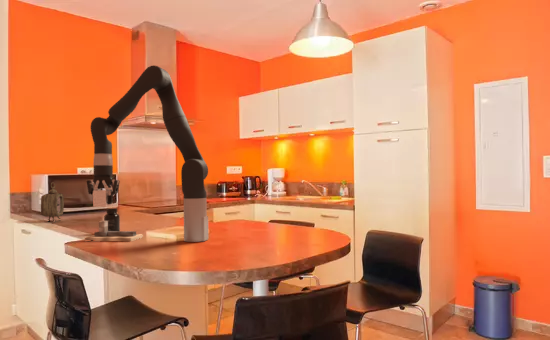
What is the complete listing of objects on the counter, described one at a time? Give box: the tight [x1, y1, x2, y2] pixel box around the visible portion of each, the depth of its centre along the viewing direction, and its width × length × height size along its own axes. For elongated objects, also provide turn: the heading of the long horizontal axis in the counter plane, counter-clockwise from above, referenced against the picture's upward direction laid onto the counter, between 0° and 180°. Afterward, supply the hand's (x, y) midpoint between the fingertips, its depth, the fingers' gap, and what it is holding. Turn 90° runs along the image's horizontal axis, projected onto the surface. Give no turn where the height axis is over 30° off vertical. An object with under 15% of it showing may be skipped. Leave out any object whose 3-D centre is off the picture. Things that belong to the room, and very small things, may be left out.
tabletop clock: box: [40, 181, 65, 222], centre depth 249 cm, size 14×9×25 cm, turn 12°
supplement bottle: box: [103, 207, 121, 231], centre depth 186 cm, size 7×7×12 cm
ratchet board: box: [84, 220, 144, 242], centre depth 167 cm, size 20×11×8 cm, turn 84°
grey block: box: [92, 189, 114, 208], centre depth 168 cm, size 6×6×7 cm
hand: (103, 204), depth 168 cm, fingers closed on grey block, 5 cm apart
